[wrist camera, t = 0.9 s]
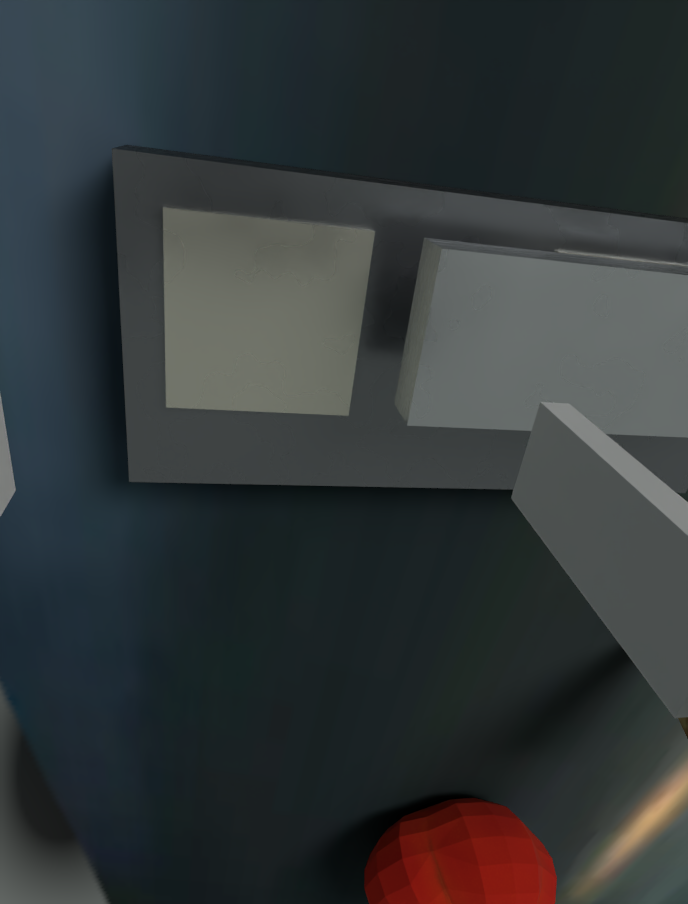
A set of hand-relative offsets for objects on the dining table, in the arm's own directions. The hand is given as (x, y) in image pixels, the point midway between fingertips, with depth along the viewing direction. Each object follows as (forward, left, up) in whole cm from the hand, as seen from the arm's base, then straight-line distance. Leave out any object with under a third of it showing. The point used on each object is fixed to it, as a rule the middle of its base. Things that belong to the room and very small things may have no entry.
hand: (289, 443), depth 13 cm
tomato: (+40, +16, -13) cm, 45 cm away
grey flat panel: (-1, +13, -7) cm, 15 cm away
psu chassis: (+1, +8, -12) cm, 15 cm away
